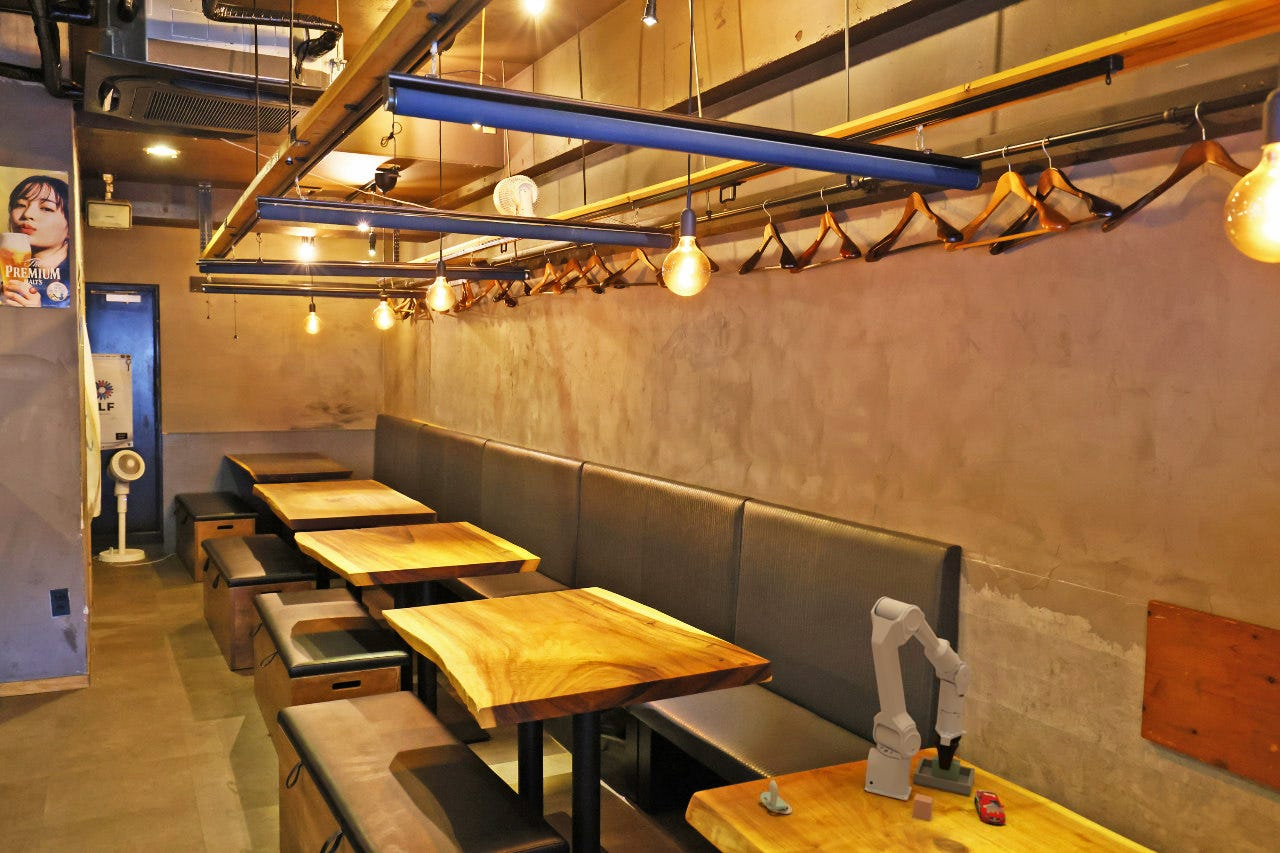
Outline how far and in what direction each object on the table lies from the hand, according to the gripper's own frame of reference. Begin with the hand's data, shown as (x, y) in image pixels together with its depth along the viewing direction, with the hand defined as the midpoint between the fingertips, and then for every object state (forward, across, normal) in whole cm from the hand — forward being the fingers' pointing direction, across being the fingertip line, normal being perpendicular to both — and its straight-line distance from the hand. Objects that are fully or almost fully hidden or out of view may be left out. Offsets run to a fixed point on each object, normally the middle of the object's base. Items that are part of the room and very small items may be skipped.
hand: (945, 766), depth 226 cm
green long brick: (+2, 0, 0) cm, 2 cm away
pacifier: (+4, -39, +30) cm, 49 cm away
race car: (+4, -13, -11) cm, 18 cm away
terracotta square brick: (+4, -24, +2) cm, 24 cm away
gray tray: (+4, 0, 0) cm, 4 cm away
